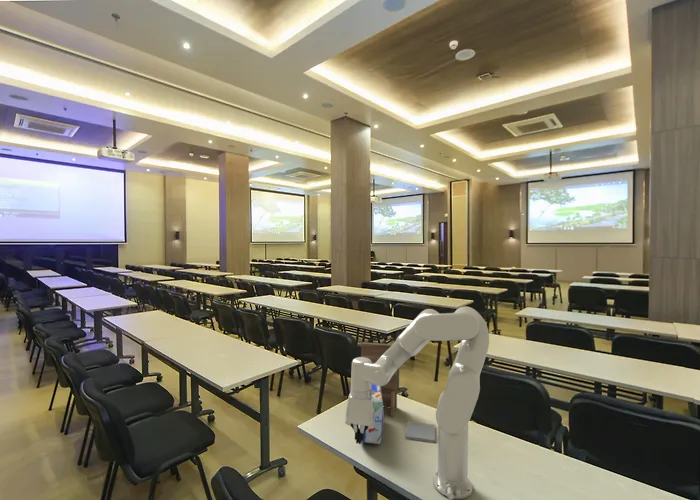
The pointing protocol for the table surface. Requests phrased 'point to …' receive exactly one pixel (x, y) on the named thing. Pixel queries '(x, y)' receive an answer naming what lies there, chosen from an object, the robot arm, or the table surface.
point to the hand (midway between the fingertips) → (359, 441)
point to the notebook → (420, 432)
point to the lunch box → (376, 419)
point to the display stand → (390, 389)
